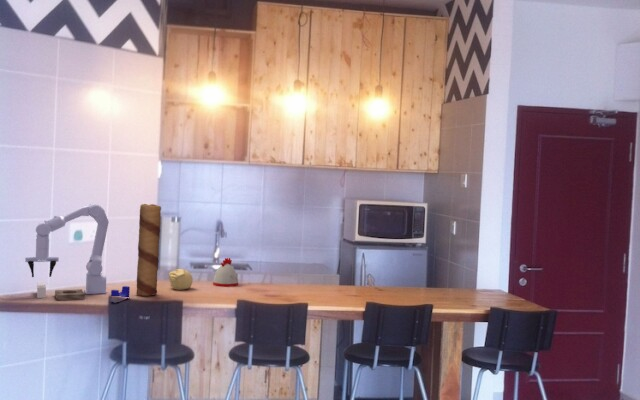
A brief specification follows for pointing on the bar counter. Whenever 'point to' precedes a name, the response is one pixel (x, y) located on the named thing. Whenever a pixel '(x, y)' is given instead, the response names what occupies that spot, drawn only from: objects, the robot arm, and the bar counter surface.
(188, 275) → the sculpture
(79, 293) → the brown square tray
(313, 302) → the bar counter surface
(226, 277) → the pompom beanie hat
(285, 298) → the bar counter surface
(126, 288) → the cable clip
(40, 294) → the bar
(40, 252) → the robot arm
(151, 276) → the wafer roll
